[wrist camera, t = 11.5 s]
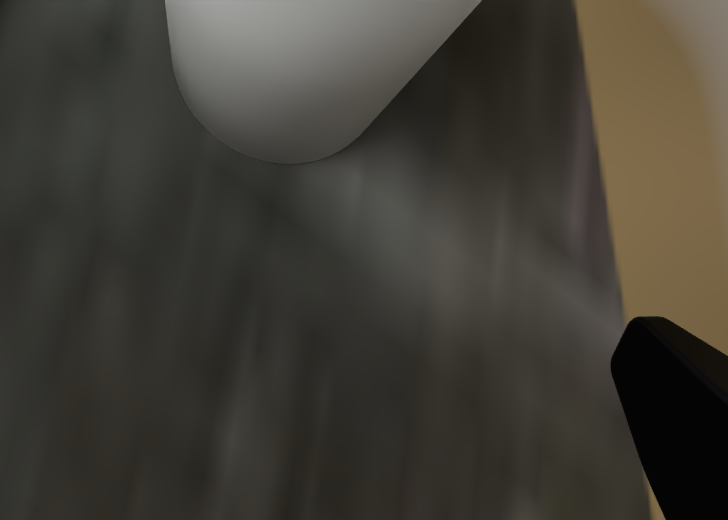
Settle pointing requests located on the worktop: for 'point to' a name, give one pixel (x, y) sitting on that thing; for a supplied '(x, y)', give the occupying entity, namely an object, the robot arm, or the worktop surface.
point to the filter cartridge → (300, 67)
